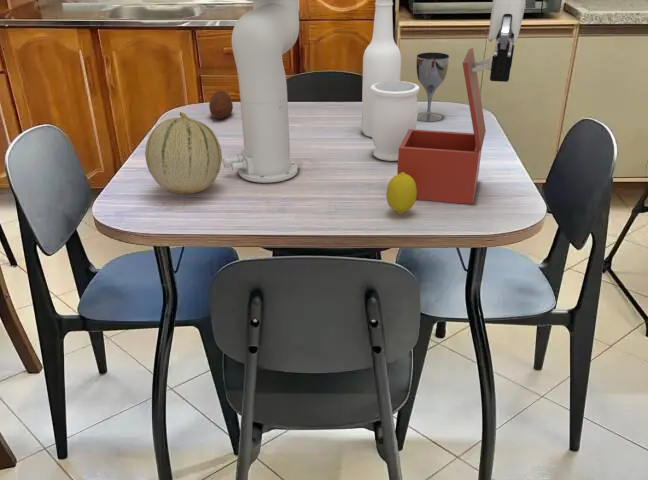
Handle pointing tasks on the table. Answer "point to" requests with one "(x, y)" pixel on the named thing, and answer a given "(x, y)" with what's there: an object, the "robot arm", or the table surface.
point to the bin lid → (475, 94)
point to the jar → (392, 116)
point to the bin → (441, 164)
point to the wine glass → (431, 78)
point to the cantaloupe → (183, 155)
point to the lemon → (401, 192)
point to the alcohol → (379, 59)
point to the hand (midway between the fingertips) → (500, 74)
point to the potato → (220, 104)
